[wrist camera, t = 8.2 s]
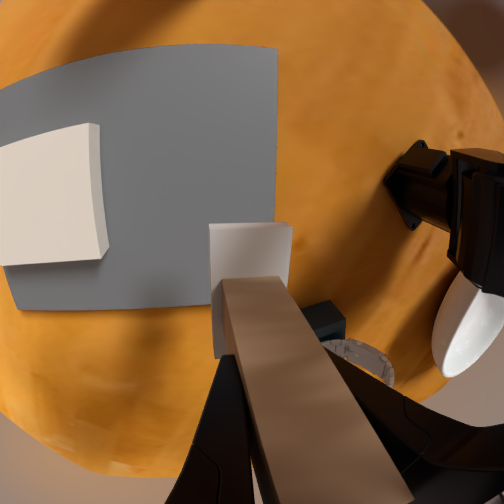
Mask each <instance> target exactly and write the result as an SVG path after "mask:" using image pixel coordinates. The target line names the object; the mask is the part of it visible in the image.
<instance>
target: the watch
mask: <svg viewBox="0 0 504 504" xmlns="http://www.w3.org/2000/svg"><path fill="white" fill-rule="evenodd" d="M300 310H301V312H302V314H303V315H304V317H305V318H306V320H307V322H308V323H309V325H310V326H311V328H312V330H313V331H314V333H315V335H316V336H317V338H318V339H319V341H320V343H321V344H322V345H323V346H324V347H326V348H327V349H329V350H330V351H332V352H334V353H335V354H337V355H338V356H340V357H341V358H343V359H344V358H347V361H349V362H352V363H354V364H357V365H359V366H361V367H363V368H365V369H367V370H368V371H370V372H371V373H373V374H377V375H378V376H379V377H380V378H383V380H384V382H386V383H385V384H386V385H387V386H389V387H391V388H393V384H394V380H395V377H394V376H395V373H394V369H393V368H392V367H393V366H392V364H391V363H390V361H388V359H387V358H386V355H385V354H384V353H382V352H381V351H379V350H377V349H376V348H374V347H372V346H370V345H368V344H365V343H363V342H360V341H357V340H354V339H350V338H349V339H348V340H345V328H346V318H345V317H344V316H343V315H342V314H341V312H340V311H339V310H338V309H337V308H336V307H335V305H334V304H333V303H332V302H331V301H330V300H328V301H325V302H322V303H319V304H316V305H313V306H309V307H306V308H303V309H300Z"/></svg>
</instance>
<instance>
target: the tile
mask: <svg viewBox="0 0 504 504" xmlns="http://www.w3.org/2000/svg"><path fill="white" fill-rule="evenodd" d="M108 248H109V241H108V235H107V228H106V220H105V212H104V203H103V193H102V181H101V164H100V125H97V124H93V123H85V124H80V125H75V126H71V127H66V128H62V129H58V130H54V131H50V132H46V133H43V134H39V135H36V136H32V137H29V138H26V139H23V140H20V141H17V142H14V143H11V144H8V145H5V146H2V147H0V266H7V265H21V264H35V263H49V262H63V261H77V260H91V259H101V258H102V257H103V255H104V254H105V253H106V251H107V250H108Z"/></svg>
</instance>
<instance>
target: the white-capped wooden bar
mask: <svg viewBox="0 0 504 504" xmlns="http://www.w3.org/2000/svg"><path fill="white" fill-rule="evenodd" d="M292 233H293V228H292V227H291V226H290V225H289V224H288V223H286V222H268V223H220V224H209V265H210V294H211V316H212V334H213V349H214V356H215V359H221V356H222V355H228V354H234V355H235V358H236V362H237V365H238V369H239V372H240V376H241V379H242V383H243V387H244V390H245V398H246V410H247V423H248V435H249V446H250V456H251V460H252V464H253V468H254V472H255V475H256V479H257V483H258V487H259V490H260V494H261V497H262V501H263V504H408V503H409V502H411V501H413V500H414V497H413V495H412V493H411V492H410V490H409V488H408V487H407V485H406V483H405V481H404V480H403V478H402V476H401V475H400V473H399V471H398V470H397V468H396V466H395V465H394V463H393V461H392V459H391V458H390V456H389V454H388V453H387V451H386V449H385V448H384V446H383V444H382V443H381V441H380V439H379V438H378V436H377V434H376V433H375V431H374V429H373V428H372V426H371V424H370V423H369V421H368V419H367V418H366V416H365V414H364V413H363V411H362V409H361V408H360V406H359V405H358V403H357V401H356V400H355V398H354V396H353V395H352V393H351V391H350V390H349V388H348V386H347V385H346V383H345V382H344V380H343V378H342V377H341V375H340V373H339V372H338V370H337V369H336V367H335V365H334V364H333V362H332V360H331V359H330V357H329V356H328V354H327V352H326V351H325V349H324V347H323V346H322V344H321V343H320V341H319V339H318V338H317V336H316V335H315V333H314V331H313V330H312V328H311V326H310V325H309V323H308V322H307V320H306V318H305V317H304V315H303V314H302V312H301V310H300V309H299V307H298V306H297V304H296V302H295V301H294V299H293V298H292V296H291V294H290V293H289V291H288V290H287V284H288V275H289V265H290V255H291V244H292Z"/></svg>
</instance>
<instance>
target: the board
mask: <svg viewBox="0 0 504 504" xmlns="http://www.w3.org/2000/svg"><path fill="white" fill-rule="evenodd" d="M277 105H278V49H274V48H266V47H256V46H244V45H226V44H188V45H169V46H157V47H148V48H140V49H133V50H126V51H120V52H114V53H109V54H104V55H100V56H95V57H91V58H87V59H83V60H79V61H75V62H72V63H68V64H65V65H61V66H58V67H55V68H52V69H49V70H46V71H43V72H41V73H38V74H35V75H33V76H30V77H28V78H25V79H23V80H20V81H18V82H16V83H13V84H11V85H9V86H7V87H5V88H3V89H1V90H0V147H2V146H5V145H8V144H11V143H14V142H17V141H20V140H23V139H26V138H29V137H32V136H36V135H39V134H43V133H46V132H50V131H54V130H58V129H62V128H66V127H71V126H75V125H80V124H85V123H93V124H97V125H100V164H101V181H102V193H103V203H104V212H105V220H106V228H107V235H108V241H109V248H108V250H107V251H106V253H105V254H104V255H103V257H102V258H101V259H91V260H77V261H63V262H49V263H35V264H21V265H7V266H3V268H4V272H5V275H6V278H7V281H8V284H9V287H10V290H11V293H12V296H13V299H14V301H15V304H16V307H17V309H18V310H117V309H142V308H162V307H178V306H193V305H206V304H211V294H210V265H209V224H220V223H268V222H274V209H275V182H276V150H277Z"/></svg>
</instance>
